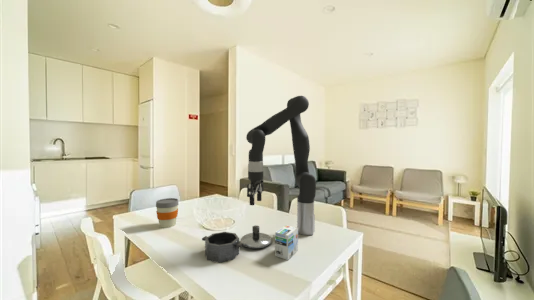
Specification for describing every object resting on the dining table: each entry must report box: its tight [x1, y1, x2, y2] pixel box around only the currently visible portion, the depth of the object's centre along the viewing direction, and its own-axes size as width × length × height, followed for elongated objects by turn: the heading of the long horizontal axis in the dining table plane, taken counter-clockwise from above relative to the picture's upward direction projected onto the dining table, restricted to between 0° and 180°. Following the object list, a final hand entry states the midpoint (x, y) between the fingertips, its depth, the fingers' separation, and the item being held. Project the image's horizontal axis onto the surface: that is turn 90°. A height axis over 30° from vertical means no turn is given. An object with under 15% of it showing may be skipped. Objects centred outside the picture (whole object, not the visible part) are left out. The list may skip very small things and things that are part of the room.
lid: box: [240, 225, 272, 249], centre depth 111 cm, size 15×15×8 cm
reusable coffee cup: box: [155, 197, 179, 229], centre depth 135 cm, size 13×13×15 cm
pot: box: [201, 231, 244, 264], centre depth 100 cm, size 20×14×7 cm
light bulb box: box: [274, 225, 299, 261], centre depth 101 cm, size 11×7×11 cm, turn 148°
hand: (255, 202), depth 110 cm, fingers open, 8 cm apart
